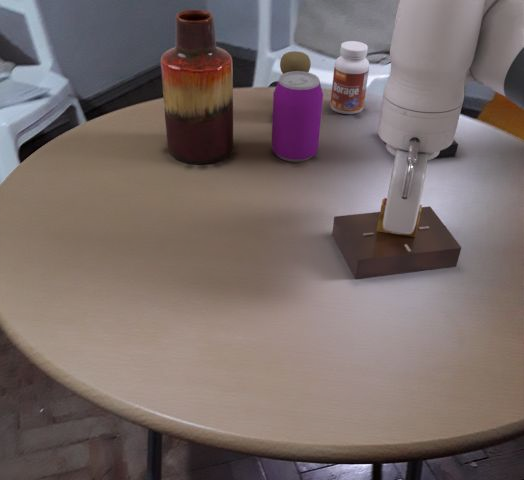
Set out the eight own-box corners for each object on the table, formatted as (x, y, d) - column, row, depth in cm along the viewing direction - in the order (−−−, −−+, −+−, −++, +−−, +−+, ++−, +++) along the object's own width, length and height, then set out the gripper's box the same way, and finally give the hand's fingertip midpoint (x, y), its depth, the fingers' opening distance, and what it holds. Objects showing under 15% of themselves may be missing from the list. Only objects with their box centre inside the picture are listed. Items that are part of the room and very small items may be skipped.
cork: (288, 127, 110) (291, 63, 103) (268, 114, 114) (270, 51, 106) (315, 120, 113) (321, 56, 105) (296, 107, 116) (299, 45, 109)
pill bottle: (325, 111, 115) (331, 48, 107) (335, 99, 119) (342, 37, 112) (358, 118, 114) (366, 54, 106) (367, 105, 118) (376, 42, 110)
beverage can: (298, 137, 108) (303, 65, 99) (327, 156, 103) (334, 82, 95) (262, 149, 104) (264, 75, 96) (289, 168, 100) (294, 93, 92)
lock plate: (425, 224, 89) (430, 205, 87) (456, 266, 83) (462, 246, 80) (331, 235, 87) (334, 215, 85) (355, 279, 80) (358, 259, 78)
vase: (193, 171, 98) (185, 33, 84) (155, 146, 104) (141, 12, 90) (246, 151, 104) (247, 18, 89) (207, 128, 109) (202, -1, 95)
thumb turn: (415, 230, 83) (422, 202, 80) (415, 237, 82) (421, 209, 79) (378, 225, 84) (383, 196, 81) (376, 231, 82) (381, 203, 79)
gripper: (442, 167, 65) (416, 275, 74) (448, 90, 79) (426, 189, 88) (380, 159, 66) (363, 266, 75) (398, 85, 80) (381, 183, 89)
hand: (397, 224), depth 82 cm, fingers closed, pressing on thumb turn
